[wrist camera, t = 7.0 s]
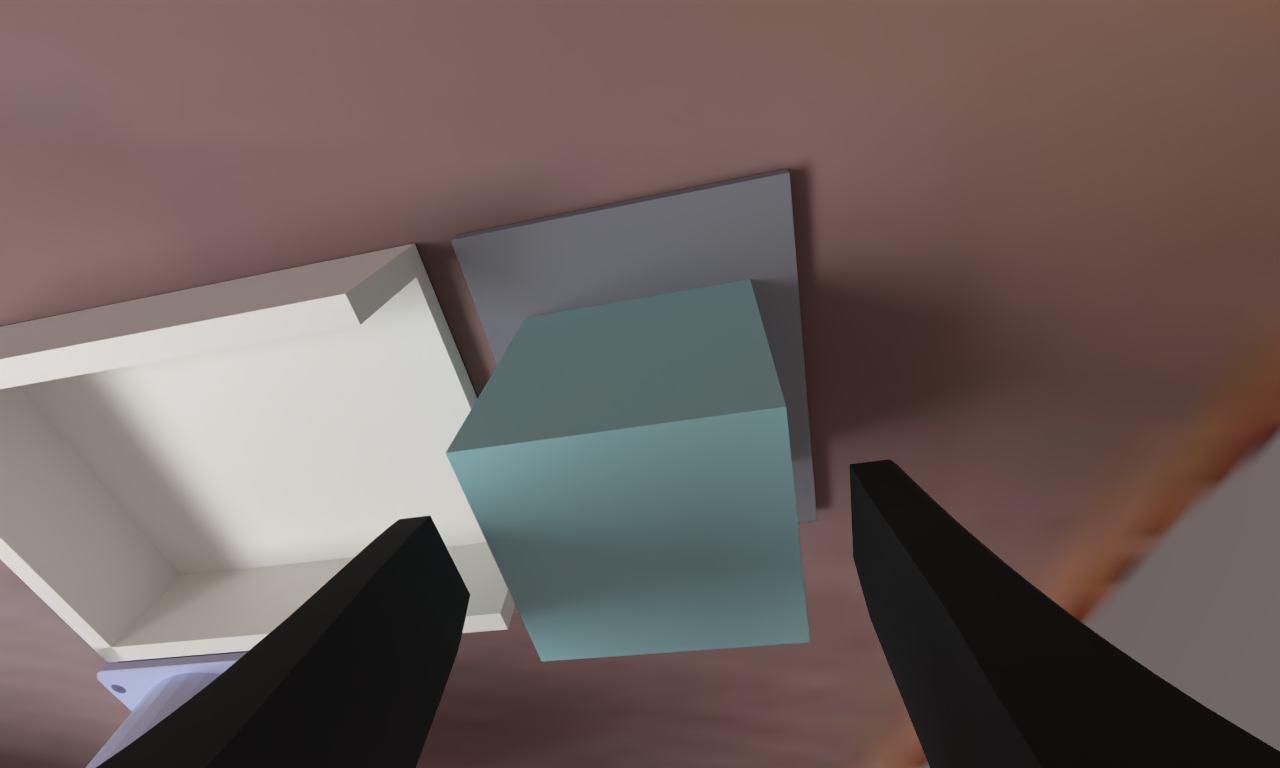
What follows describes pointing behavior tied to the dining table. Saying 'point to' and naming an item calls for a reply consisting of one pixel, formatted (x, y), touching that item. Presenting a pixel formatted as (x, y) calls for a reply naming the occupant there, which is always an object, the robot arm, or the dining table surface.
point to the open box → (232, 452)
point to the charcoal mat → (656, 273)
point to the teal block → (640, 478)
